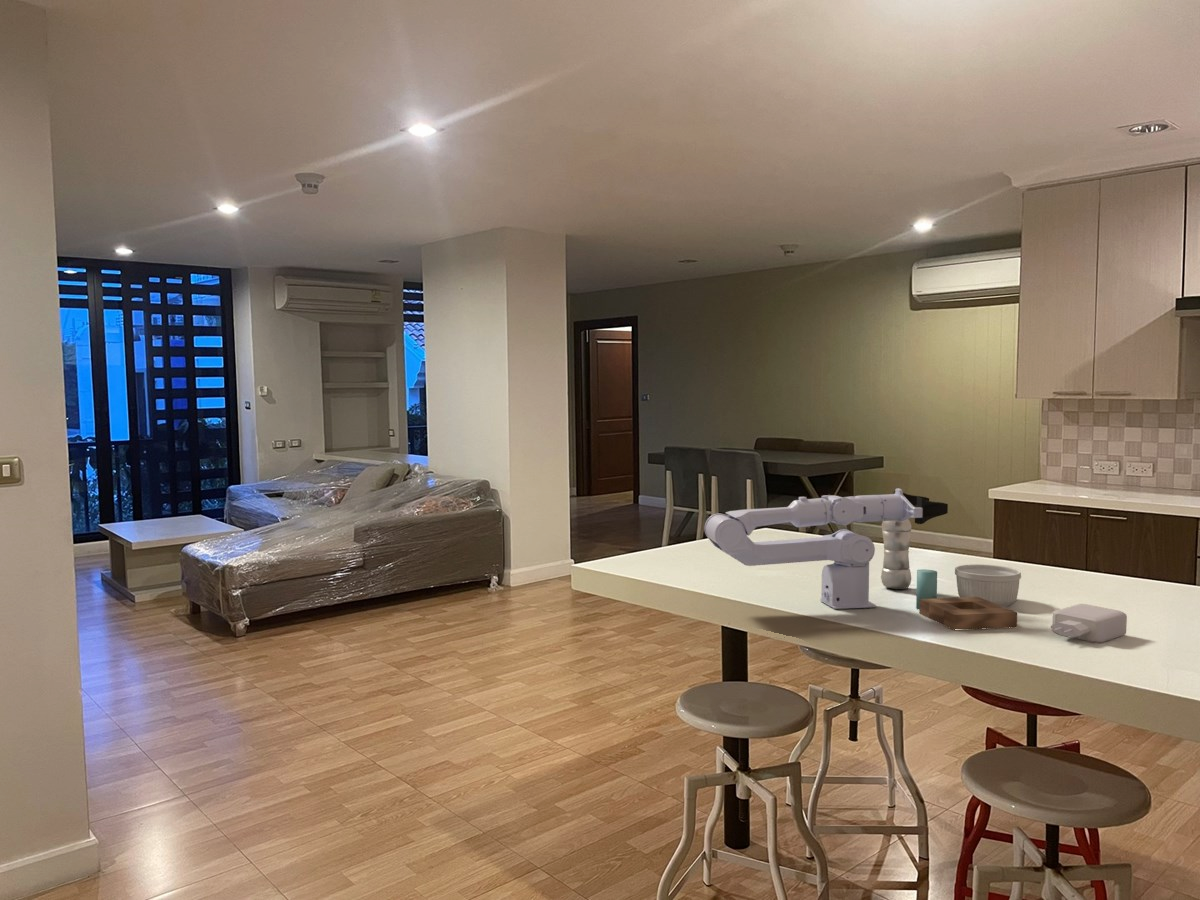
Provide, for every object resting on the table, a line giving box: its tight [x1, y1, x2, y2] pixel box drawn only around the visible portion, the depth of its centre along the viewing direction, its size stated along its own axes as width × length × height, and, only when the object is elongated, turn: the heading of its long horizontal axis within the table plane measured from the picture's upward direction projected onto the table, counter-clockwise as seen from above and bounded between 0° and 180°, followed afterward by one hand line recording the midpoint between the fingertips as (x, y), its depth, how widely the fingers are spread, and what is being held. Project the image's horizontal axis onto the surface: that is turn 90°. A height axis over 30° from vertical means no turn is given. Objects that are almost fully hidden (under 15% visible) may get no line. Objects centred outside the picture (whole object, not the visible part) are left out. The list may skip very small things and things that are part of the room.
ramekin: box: [954, 563, 1022, 607], centre depth 187 cm, size 13×13×7 cm
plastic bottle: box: [880, 519, 912, 590], centre depth 198 cm, size 6×7×20 cm
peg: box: [915, 568, 938, 610], centre depth 179 cm, size 4×4×8 cm
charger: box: [1050, 603, 1128, 644], centre depth 158 cm, size 5×9×15 cm
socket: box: [918, 597, 1018, 631], centre depth 170 cm, size 13×13×3 cm
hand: (937, 505), depth 185 cm, fingers open, 7 cm apart
